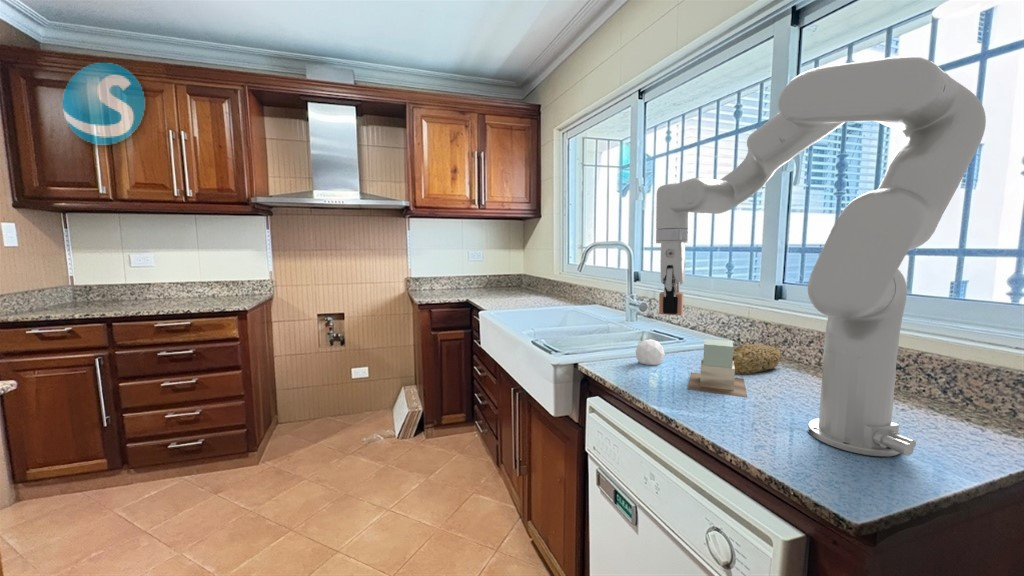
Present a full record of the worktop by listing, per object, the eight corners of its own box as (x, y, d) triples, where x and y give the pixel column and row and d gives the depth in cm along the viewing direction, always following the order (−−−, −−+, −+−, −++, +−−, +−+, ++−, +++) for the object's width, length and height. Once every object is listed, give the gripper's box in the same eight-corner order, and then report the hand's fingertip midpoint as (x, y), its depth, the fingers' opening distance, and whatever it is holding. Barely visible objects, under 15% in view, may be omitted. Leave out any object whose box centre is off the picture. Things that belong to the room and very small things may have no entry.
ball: (651, 377, 114) (649, 359, 109) (631, 361, 120) (628, 343, 115) (671, 362, 116) (669, 344, 111) (650, 347, 122) (648, 329, 117)
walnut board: (747, 401, 88) (747, 397, 88) (687, 393, 94) (687, 389, 94) (743, 382, 101) (743, 378, 101) (690, 376, 106) (690, 372, 106)
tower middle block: (732, 368, 93) (733, 346, 92) (703, 365, 95) (704, 344, 95) (731, 361, 98) (732, 341, 98) (703, 358, 101) (704, 338, 100)
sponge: (746, 386, 102) (804, 362, 108) (737, 355, 103) (796, 333, 108) (708, 379, 115) (762, 358, 121) (700, 352, 115) (754, 332, 121)
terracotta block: (681, 315, 96) (681, 294, 96) (659, 314, 98) (659, 293, 98) (683, 312, 100) (683, 292, 100) (661, 311, 103) (661, 291, 102)
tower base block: (733, 390, 93) (734, 369, 92) (700, 386, 96) (700, 365, 95) (732, 381, 99) (733, 361, 98) (701, 377, 102) (701, 358, 101)
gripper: (687, 235, 88) (685, 318, 90) (691, 237, 104) (690, 308, 105) (651, 236, 92) (650, 316, 93) (660, 238, 107) (659, 306, 109)
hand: (671, 311), depth 99 cm, fingers closed on terracotta block, 5 cm apart
